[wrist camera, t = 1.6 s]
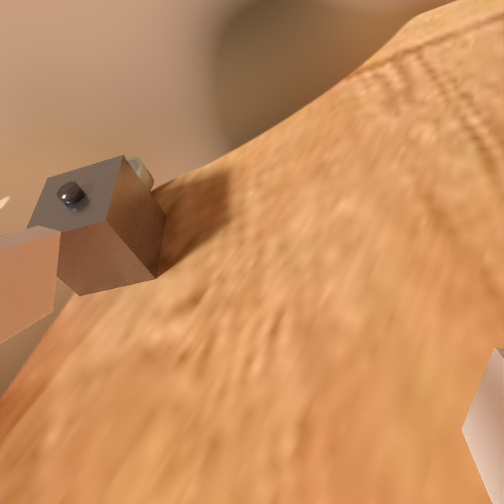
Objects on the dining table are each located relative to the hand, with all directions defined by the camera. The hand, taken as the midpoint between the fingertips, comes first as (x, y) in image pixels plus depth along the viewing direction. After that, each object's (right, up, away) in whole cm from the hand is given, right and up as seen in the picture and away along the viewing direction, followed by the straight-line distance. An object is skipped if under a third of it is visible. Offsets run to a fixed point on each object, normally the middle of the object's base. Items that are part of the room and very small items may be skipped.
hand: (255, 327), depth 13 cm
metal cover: (-16, +2, +42) cm, 45 cm away
